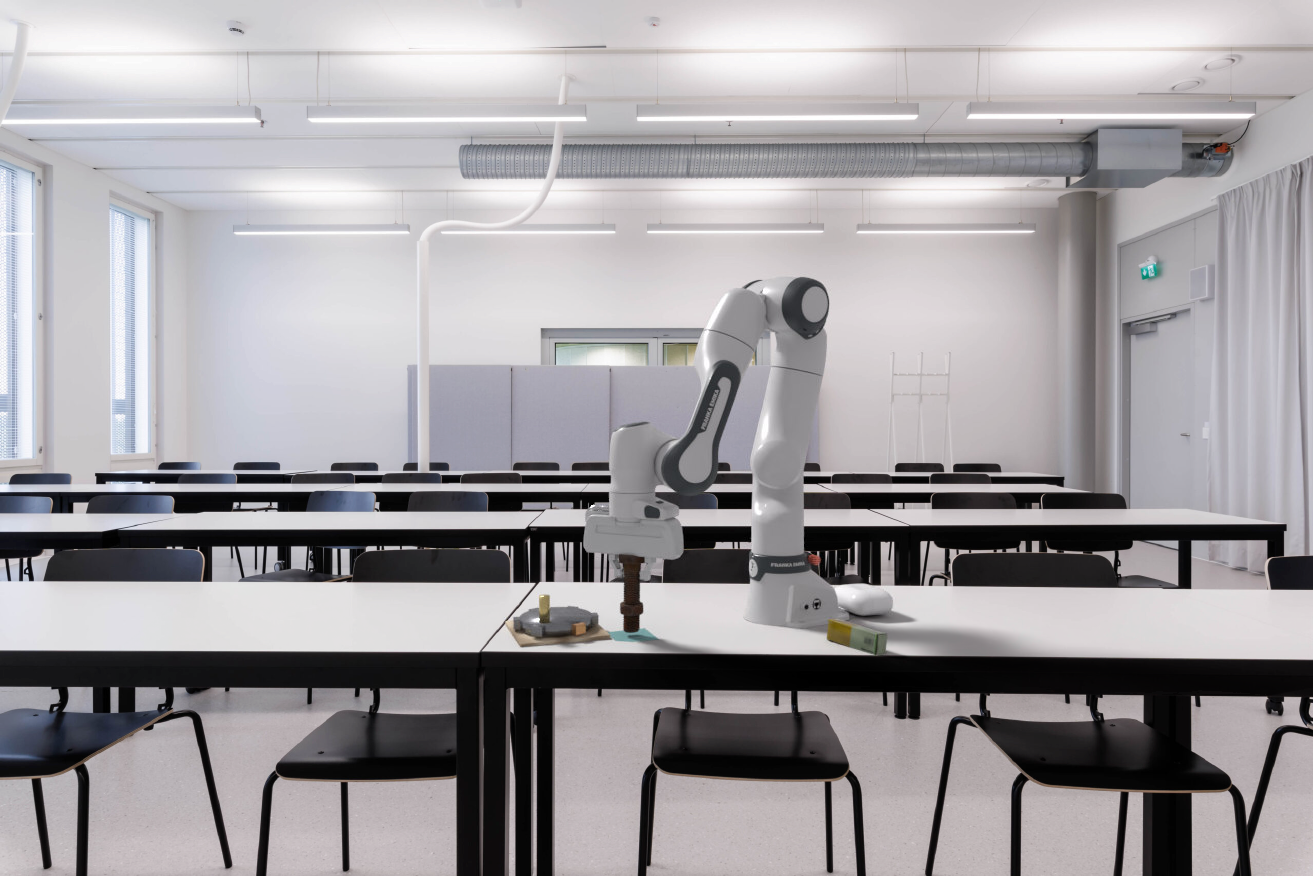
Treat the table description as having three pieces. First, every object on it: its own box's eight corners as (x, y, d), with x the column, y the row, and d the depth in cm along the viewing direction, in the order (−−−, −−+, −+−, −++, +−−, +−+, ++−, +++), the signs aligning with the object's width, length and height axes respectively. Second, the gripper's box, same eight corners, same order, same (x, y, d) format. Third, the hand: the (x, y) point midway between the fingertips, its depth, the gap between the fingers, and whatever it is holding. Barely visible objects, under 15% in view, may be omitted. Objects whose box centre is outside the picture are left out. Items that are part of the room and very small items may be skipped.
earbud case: (866, 603, 169) (866, 579, 169) (899, 617, 156) (900, 591, 156) (826, 606, 166) (826, 582, 166) (857, 620, 154) (857, 594, 154)
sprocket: (540, 612, 154) (539, 579, 154) (607, 618, 149) (607, 584, 149) (500, 633, 138) (499, 596, 138) (574, 640, 134) (574, 602, 134)
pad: (644, 629, 146) (644, 628, 146) (658, 640, 139) (658, 639, 138) (606, 633, 143) (606, 632, 143) (618, 645, 136) (618, 643, 136)
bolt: (645, 635, 138) (646, 556, 138) (618, 636, 138) (619, 556, 137) (643, 627, 144) (644, 550, 144) (617, 627, 144) (618, 551, 143)
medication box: (886, 656, 130) (888, 633, 130) (876, 657, 129) (878, 634, 129) (835, 638, 140) (837, 617, 140) (825, 639, 138) (827, 618, 139)
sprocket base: (586, 618, 155) (586, 613, 155) (610, 640, 139) (610, 635, 139) (505, 626, 149) (505, 621, 149) (520, 649, 133) (520, 644, 133)
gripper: (577, 505, 142) (577, 577, 142) (672, 511, 133) (672, 587, 133) (594, 502, 148) (594, 571, 148) (687, 507, 139) (686, 580, 139)
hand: (632, 578), depth 141 cm, fingers closed on bolt, 4 cm apart
